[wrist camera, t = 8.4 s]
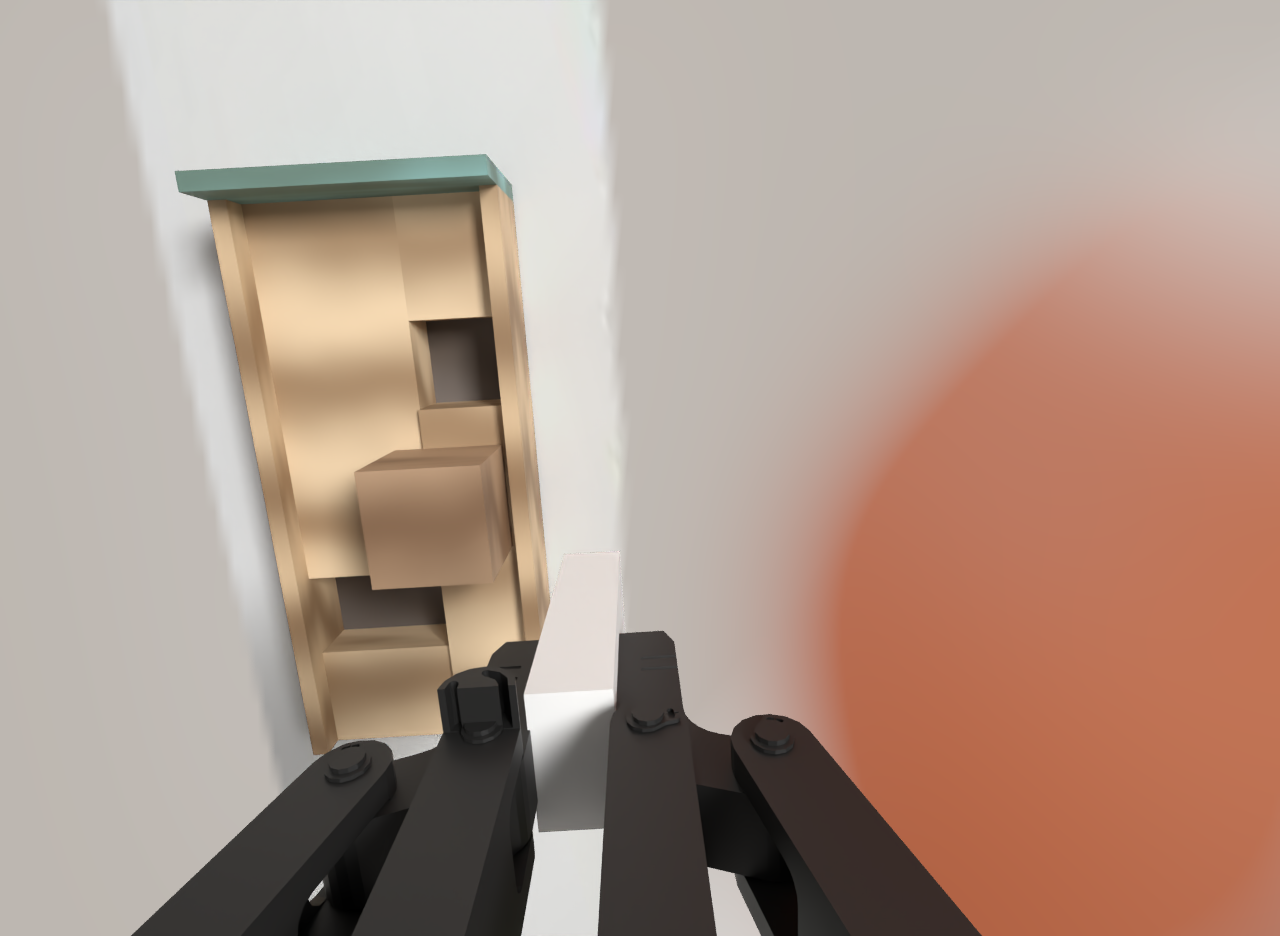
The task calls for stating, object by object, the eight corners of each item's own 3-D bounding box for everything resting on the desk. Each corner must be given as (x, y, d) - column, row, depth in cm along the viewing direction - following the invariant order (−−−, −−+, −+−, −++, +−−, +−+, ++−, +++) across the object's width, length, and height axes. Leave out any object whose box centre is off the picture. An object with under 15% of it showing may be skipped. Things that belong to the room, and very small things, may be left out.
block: (512, 546, 31) (493, 583, 26) (409, 551, 31) (372, 589, 26) (502, 444, 30) (480, 465, 25) (394, 450, 30) (353, 472, 25)
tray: (558, 698, 36) (546, 763, 30) (346, 710, 36) (296, 778, 30) (511, 184, 30) (485, 154, 24) (256, 199, 30) (174, 171, 24)
